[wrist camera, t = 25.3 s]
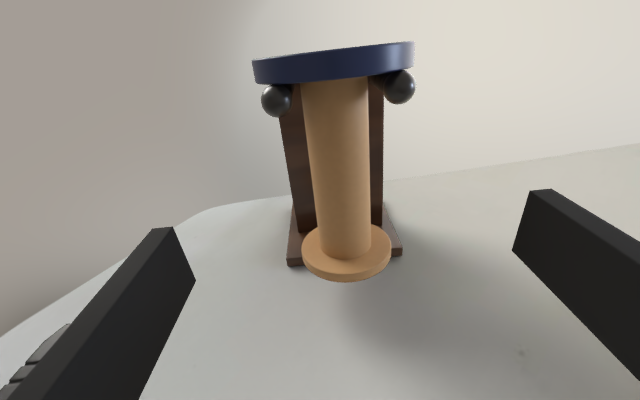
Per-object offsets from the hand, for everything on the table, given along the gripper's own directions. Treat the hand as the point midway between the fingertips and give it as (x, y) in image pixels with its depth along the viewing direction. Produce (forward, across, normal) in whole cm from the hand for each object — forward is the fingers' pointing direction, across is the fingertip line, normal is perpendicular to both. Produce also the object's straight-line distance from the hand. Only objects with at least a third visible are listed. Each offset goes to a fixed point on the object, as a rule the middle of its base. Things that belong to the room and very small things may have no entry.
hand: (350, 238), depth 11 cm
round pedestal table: (+9, 0, -8) cm, 12 cm away
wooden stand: (+14, 0, -12) cm, 18 cm away
